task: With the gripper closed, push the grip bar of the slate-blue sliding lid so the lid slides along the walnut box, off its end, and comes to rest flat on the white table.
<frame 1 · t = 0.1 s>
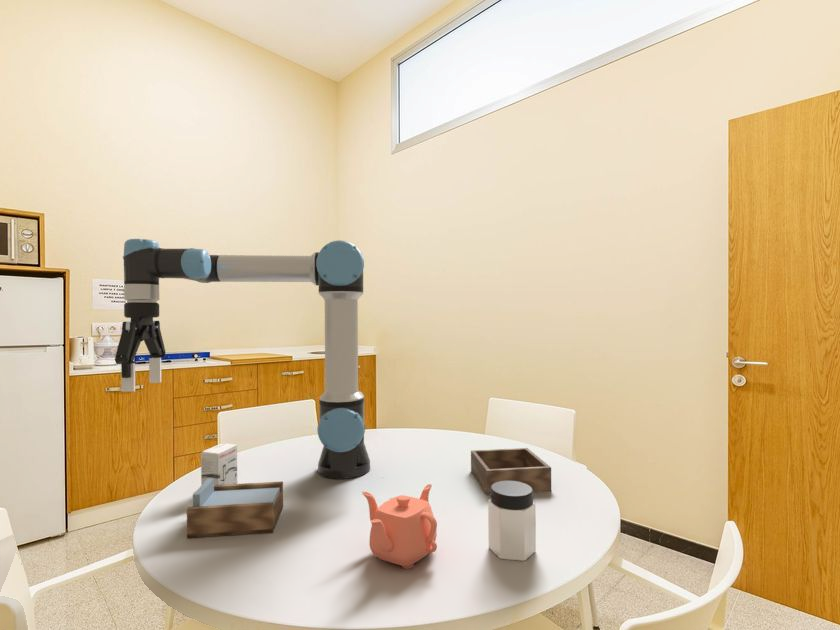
hand: (142, 386, 113), 28 cm above the table, fingers open, 13 cm apart
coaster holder: (508, 480, 124), on the table
box: (238, 521, 101), on the table
ink box: (220, 494, 116), on the table
lid: (238, 503, 101), point 4 cm above the table, touching box
teapot: (397, 553, 87), on the table
jar: (511, 550, 88), on the table
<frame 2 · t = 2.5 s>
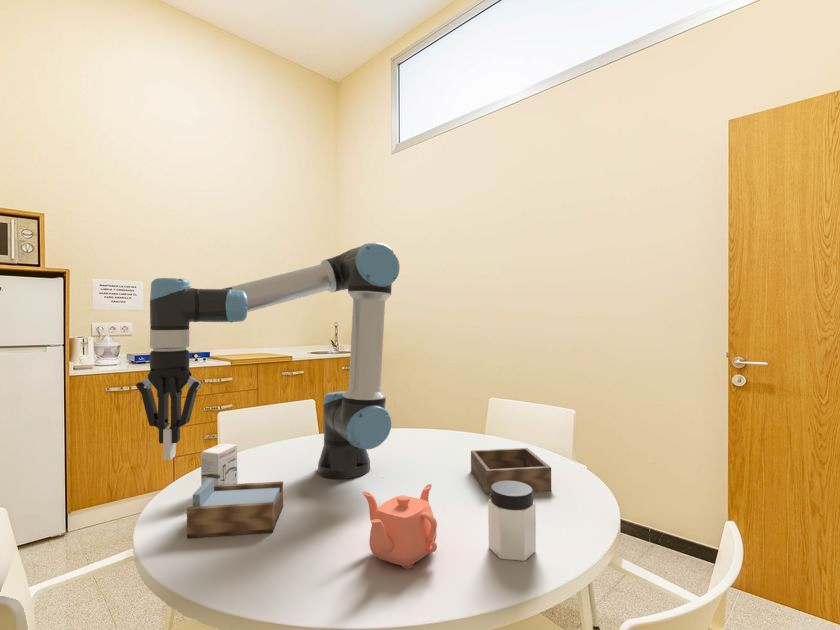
hand: (169, 457, 99), 15 cm above the table, fingers closed
nothing on the table moved.
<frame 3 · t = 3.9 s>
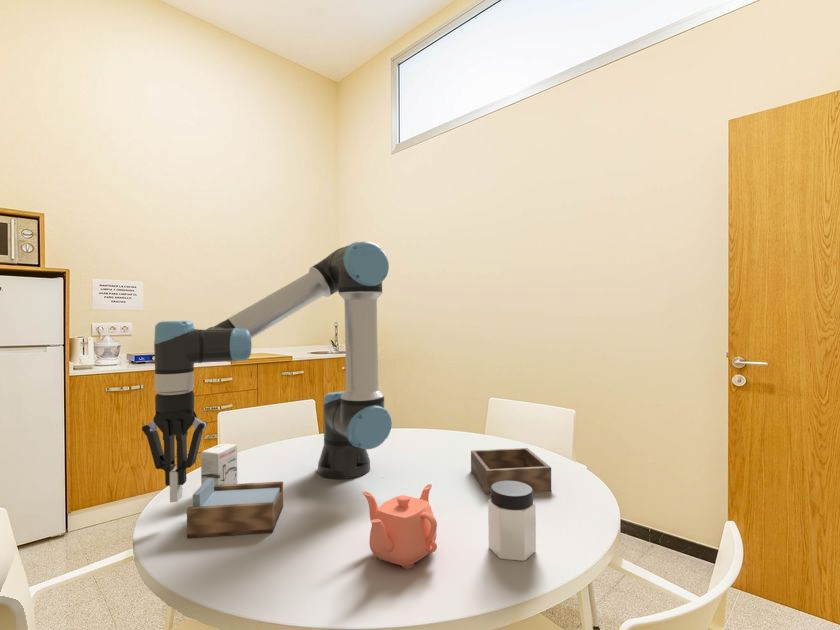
hand: (176, 499, 99), 6 cm above the table, fingers closed
nothing on the table moved.
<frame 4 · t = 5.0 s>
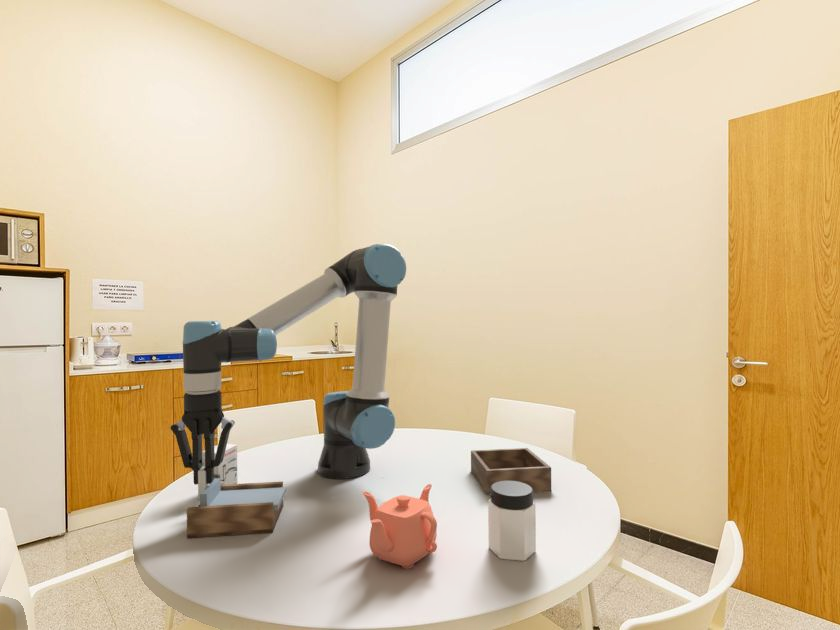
hand: (204, 498, 100), 6 cm above the table, fingers closed
lid: (245, 502, 101), point 4 cm above the table, touching box, gripper
everything else where it was.
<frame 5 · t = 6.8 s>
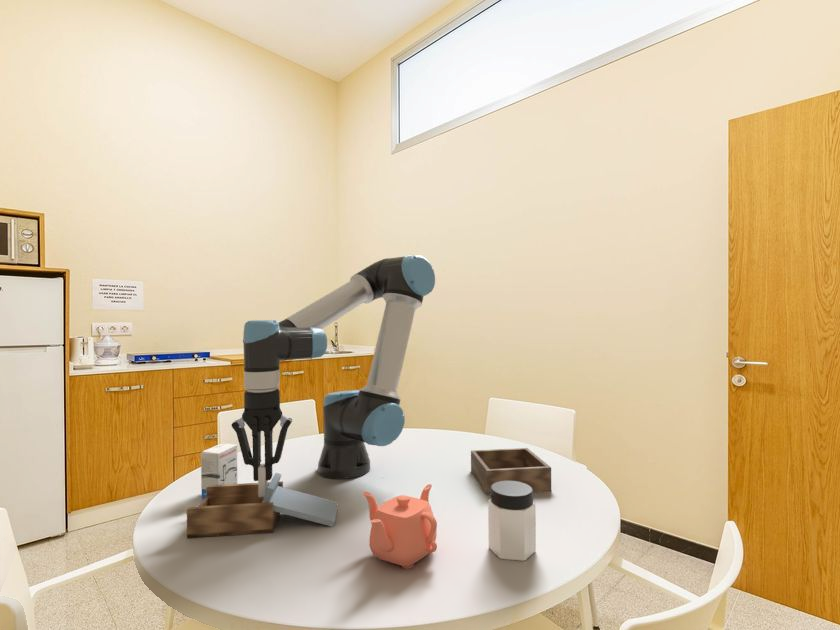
hand: (263, 494, 101), 6 cm above the table, fingers closed
lid: (300, 507, 102), point 2 cm above the table, tilted 18°, touching gripper
everything else where it was.
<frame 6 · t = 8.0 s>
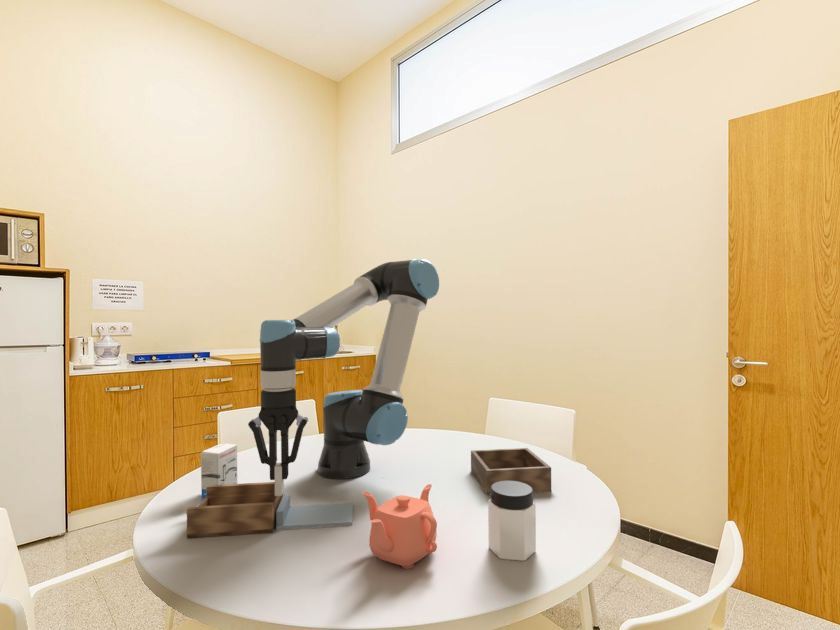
hand: (279, 493, 102), 6 cm above the table, fingers closed
lid: (316, 519, 103), on the table
everything else where it was.
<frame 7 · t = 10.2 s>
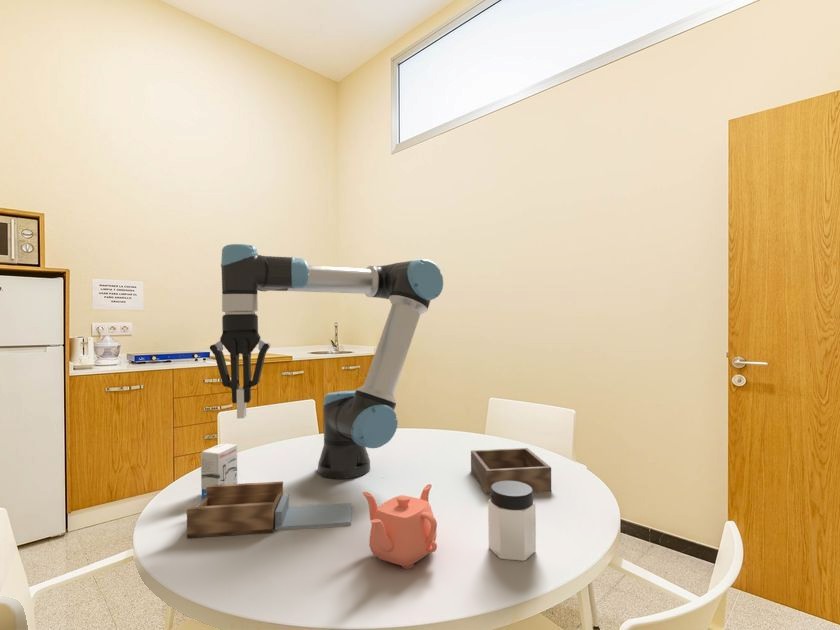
hand: (241, 416, 103), 23 cm above the table, fingers closed
nothing on the table moved.
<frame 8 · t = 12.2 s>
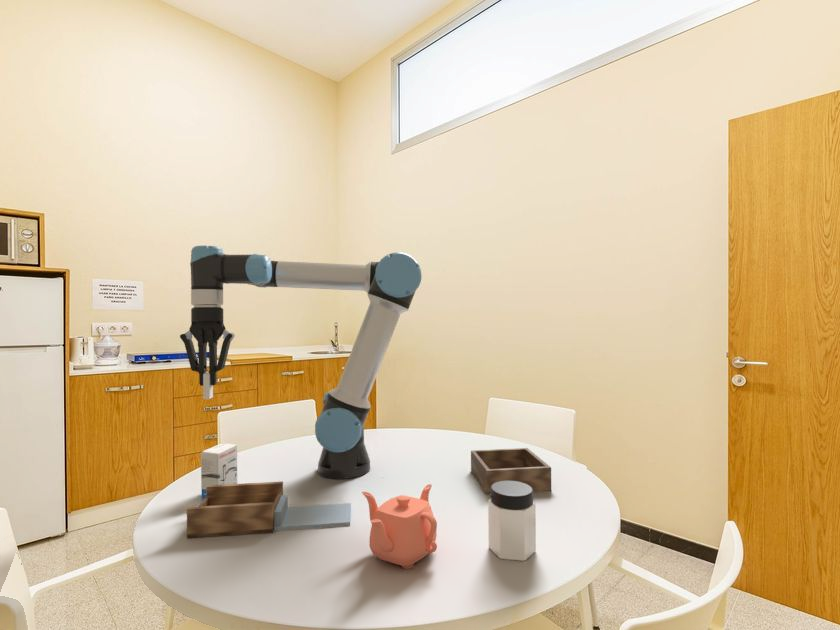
hand: (208, 398, 117), 24 cm above the table, fingers closed
nothing on the table moved.
at the end: lid inside the target area (3.2 cm from its centre), on the table; lid touching table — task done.
